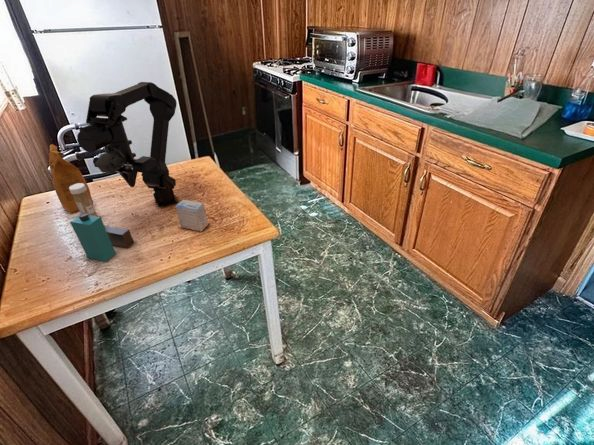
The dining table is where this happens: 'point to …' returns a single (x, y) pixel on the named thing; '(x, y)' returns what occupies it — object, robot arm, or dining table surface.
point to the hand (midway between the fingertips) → (132, 186)
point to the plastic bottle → (93, 237)
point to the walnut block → (119, 236)
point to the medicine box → (192, 215)
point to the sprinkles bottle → (82, 199)
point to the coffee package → (65, 179)
